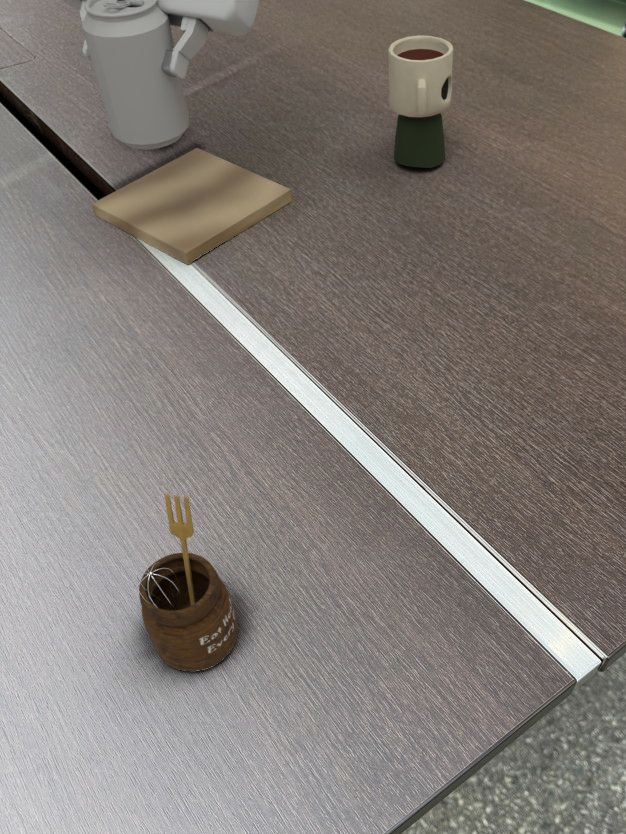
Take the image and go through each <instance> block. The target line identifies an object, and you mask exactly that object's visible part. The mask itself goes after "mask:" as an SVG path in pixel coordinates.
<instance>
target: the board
mask: <svg viewBox="0 0 626 834" xmlns="http://www.w3.org/2000/svg"><path fill="white" fill-rule="evenodd" d="M292 202H293V196H292V189H291V188H289V187H286V186H284V185H282V184H280V183H277V182H276V181H273V180H271V179H269V178H266V177H264V176H262V175H259V174H257V173H256V172H252V171H251V170H248V169H246V168H244V167H241V166H239V165H237V164H234V163H232V162H230V161H228V160H226V159H223V158H221V157H219V156H217V155H214V154H212V153H210V152H208V151H205V150H203V149H201V148H199V147H196V148H194V149H192V150H190V151H188V152H186V153H185V154H184V153H183V155H181V156H179V157H177V158H174V159H173V160H171V161H170V162H167V163H166V164H164V165H162V166H160V167H158V168H156V169H154V170H153V171H150V172H149V173H147V174H145V175H143V176H141V177H140V178H138V179H135V180H134V181H132V182H130V183H128V184H127V185H125V186H123V187H121V188H119V189H117V190H115V191H113V192H111V193H109V194H107V195H106V196H104V197H102V198H100V199H98V200H96V201H94V202H92V203H91V206H92V208H93V212H94V215H95V216H96V217H98V218H99V219H101V220H103V221H105V222H107V223H108V224H111V225H112V226H114V227H116V228H118V229H119V230H121V231H124V232H126V233H127V234H129V235H131V236H133V237H134V238H137V239H139V240H140V241H142V242H144V243H146V244H147V245H149V246H151V247H153V248H155V249H157V250H159V251H160V252H163V253H164V254H167V255H168V256H169V257H172V258H174V259H176V260H178V261H179V262H181V263H182V264H183V263H184V264H185V265H187V266H190V265H191V264H193V263H194V262H193V260H194V259H196V258H197V257H199V256H200V255H203V254H204V253H206V252H208V251H210V250H211V249H214V248H215V247H217V248H219V247H220V246H221V245H220V244H222V243H224V242H225V243H227V242H229V241H230V240H232V239H233V238H235V237H237V236H238V235H240V234H241V233H243V232H245V231H246V230H248V229H250V228H251V227H253V226H254V225H256V224H258V223H259V222H261V221H262V220H264V219H266V218H267V217H269V216H270V215H272V214H274V213H275V212H277V211H279V210H280V209H282V208H284V207H285V206H287V205H288V204H290V203H292ZM236 235H237V236H236ZM234 236H235V237H234ZM231 238H232V239H231ZM226 241H227V242H226ZM225 243H224V244H225ZM219 245H220V246H219ZM222 245H223V244H222ZM218 246H219V247H218ZM215 249H216V248H215ZM215 249H214V250H215ZM192 262H193V263H192Z"/></svg>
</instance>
